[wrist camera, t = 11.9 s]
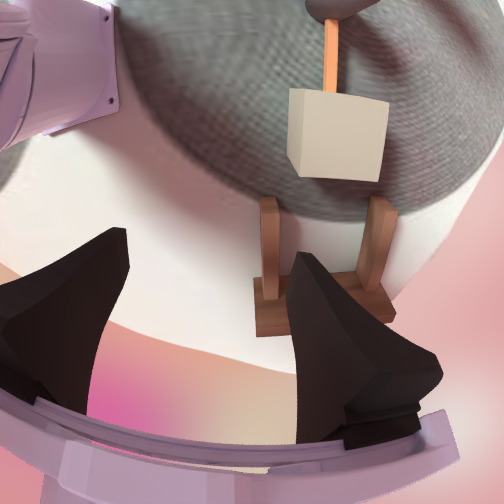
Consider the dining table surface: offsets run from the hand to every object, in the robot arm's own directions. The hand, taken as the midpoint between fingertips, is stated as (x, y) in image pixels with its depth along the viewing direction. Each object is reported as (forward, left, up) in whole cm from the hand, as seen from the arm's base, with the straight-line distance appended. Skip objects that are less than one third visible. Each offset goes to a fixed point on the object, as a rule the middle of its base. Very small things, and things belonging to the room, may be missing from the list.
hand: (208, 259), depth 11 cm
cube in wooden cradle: (+6, +8, -10) cm, 14 cm away
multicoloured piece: (-8, +8, -10) cm, 15 cm away
